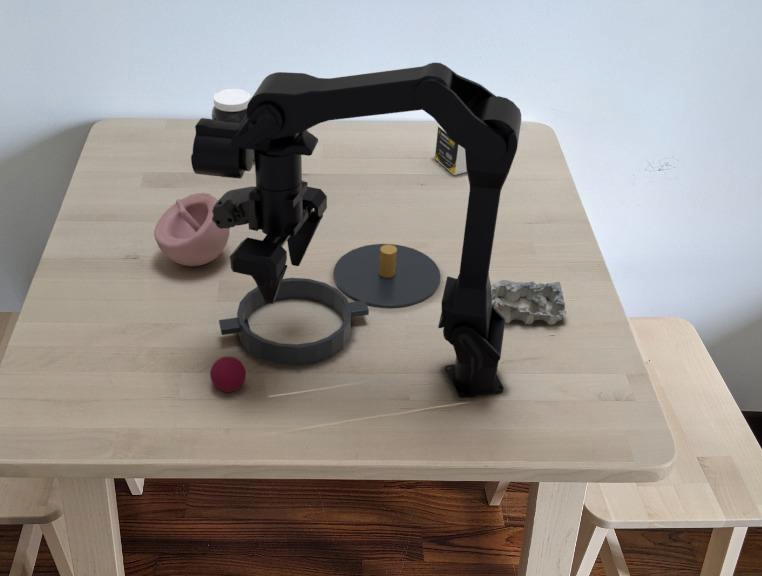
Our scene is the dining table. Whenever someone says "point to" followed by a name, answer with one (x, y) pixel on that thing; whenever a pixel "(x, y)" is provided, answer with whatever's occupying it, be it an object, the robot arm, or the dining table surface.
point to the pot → (295, 352)
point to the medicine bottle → (450, 153)
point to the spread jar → (230, 105)
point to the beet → (228, 374)
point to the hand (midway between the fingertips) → (282, 283)
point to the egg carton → (533, 294)
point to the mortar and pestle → (191, 231)
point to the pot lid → (387, 275)
